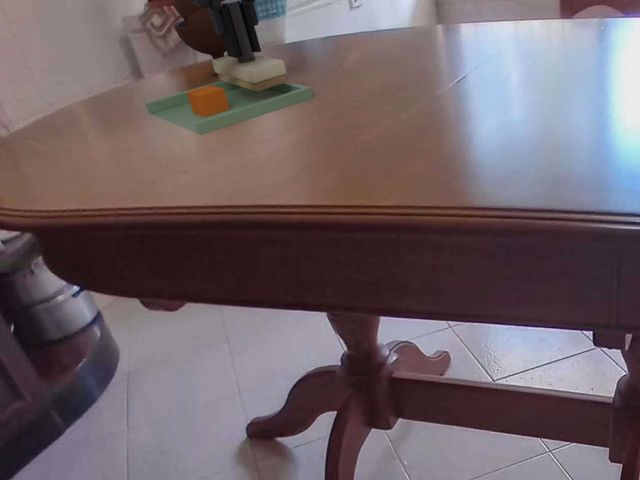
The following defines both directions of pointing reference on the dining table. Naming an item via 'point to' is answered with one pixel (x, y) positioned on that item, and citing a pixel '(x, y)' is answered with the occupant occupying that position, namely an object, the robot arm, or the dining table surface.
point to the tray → (240, 104)
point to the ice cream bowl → (198, 30)
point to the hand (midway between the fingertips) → (244, 53)
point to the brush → (247, 58)
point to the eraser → (208, 100)
